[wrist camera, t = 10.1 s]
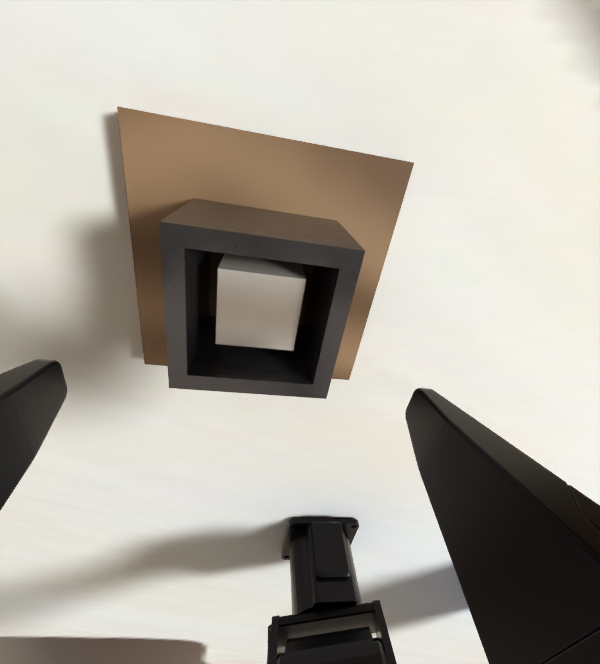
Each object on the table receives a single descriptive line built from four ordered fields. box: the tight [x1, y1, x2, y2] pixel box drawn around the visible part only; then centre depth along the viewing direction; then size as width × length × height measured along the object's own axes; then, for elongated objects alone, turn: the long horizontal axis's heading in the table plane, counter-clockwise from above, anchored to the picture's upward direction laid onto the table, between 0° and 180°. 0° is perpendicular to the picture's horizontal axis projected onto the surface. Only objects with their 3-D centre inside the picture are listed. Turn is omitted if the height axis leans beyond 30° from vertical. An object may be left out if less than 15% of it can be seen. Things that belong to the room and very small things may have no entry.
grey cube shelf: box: [159, 198, 365, 399], centre depth 13 cm, size 6×6×5 cm
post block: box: [117, 107, 414, 380], centre depth 14 cm, size 12×12×5 cm
